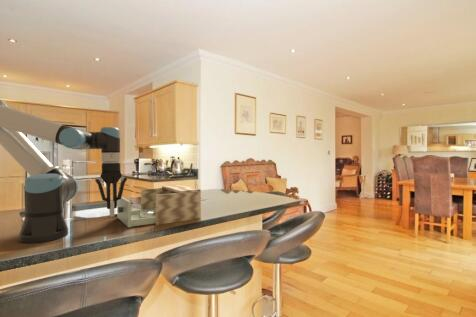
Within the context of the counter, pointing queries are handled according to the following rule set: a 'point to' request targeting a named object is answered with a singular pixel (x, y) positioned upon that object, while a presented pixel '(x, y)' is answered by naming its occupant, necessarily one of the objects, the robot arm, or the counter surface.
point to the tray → (132, 214)
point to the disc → (147, 214)
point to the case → (172, 203)
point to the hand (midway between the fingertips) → (112, 216)
